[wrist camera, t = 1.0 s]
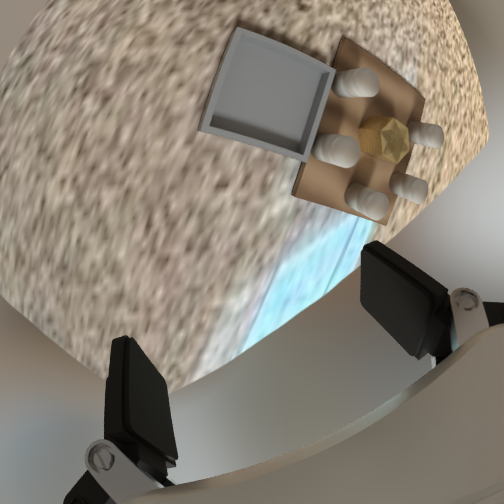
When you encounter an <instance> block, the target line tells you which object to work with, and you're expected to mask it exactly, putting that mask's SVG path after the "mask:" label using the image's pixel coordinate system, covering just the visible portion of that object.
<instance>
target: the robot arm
mask: <svg viewBox="0 0 504 504" xmlns="http://www.w3.org/2000/svg"><path fill="white" fill-rule="evenodd" d="M447 292H448V289H447V288H445V287H444V286H443V285H441V284H440V283H439V282H437V281H436V280H435V279H433V278H432V277H430V276H429V275H427V274H426V273H425V272H423V271H422V270H421V269H419V268H418V267H416V266H415V265H414V264H412V263H411V262H409V261H408V260H406V259H405V258H403V257H402V256H400V255H399V254H397V253H396V252H394V251H393V250H391V249H390V248H388V247H386V246H385V245H384V244H382V243H381V242H379V241H377V240H376V241H373V242H370V243H368V244H366V245H364V247H363V250H362V251H361V290H360V293H361V294H360V301H361V304H362V306H363V307H364V309H366V311H368V313H370V314H371V316H373V318H374V319H376V321H378V323H379V324H380V325H381V326H382V327H383V328H384V329H385V330H386V331H387V332H388V333H389V334H390V335H391V336H392V337H393V338H394V339H395V340H396V341H397V342H398V343H399V344H400V345H401V346H402V347H403V348H404V349H405V350H406V351H407V353H408V354H409V355H411V356H415V357H416V358H417V359H418V360H420V359H421V358H422V357H423V356H425V355H426V354H427V353H428V352H429V354H431V356H432V370H430V371H429V372H428V373H427V374H426V375H424V376H423V377H421V378H420V379H419V380H418V381H416V382H415V383H414V384H412V385H411V386H409V387H408V388H407V389H405V390H404V391H402V392H401V393H399V394H398V395H396V396H395V397H393V398H392V399H390V400H389V401H387V402H386V403H384V404H383V405H381V406H379V407H378V408H376V409H375V410H373V411H371V412H370V413H368V414H366V415H365V416H363V417H361V418H359V419H358V420H356V421H354V422H352V423H351V424H349V425H347V426H345V427H343V428H341V429H340V430H338V431H336V432H333V433H331V434H329V435H327V436H325V437H323V438H322V439H319V440H317V441H315V442H313V443H310V444H308V445H306V446H304V447H301V448H299V449H297V450H294V451H292V452H289V453H287V454H284V455H282V456H279V457H276V458H274V459H271V460H269V461H265V462H263V463H259V464H256V465H254V466H250V467H247V468H244V469H241V470H237V471H233V472H230V473H226V474H223V475H219V476H215V477H211V478H207V479H203V480H198V481H194V482H189V483H184V484H177V483H176V482H174V481H173V480H172V479H170V478H169V477H168V476H167V475H168V473H167V468H173V467H176V462H175V460H177V459H178V453H177V448H176V442H175V437H174V431H173V425H172V419H171V413H170V406H169V398H168V391H167V384H166V382H165V379H164V378H163V377H162V375H161V374H160V373H159V372H158V370H157V369H156V368H155V366H154V365H153V364H152V363H151V361H150V360H149V359H148V357H147V356H146V355H145V353H144V352H143V350H142V349H141V348H140V346H139V345H138V344H137V342H136V341H135V339H134V338H132V337H131V338H129V337H128V336H127V335H125V336H122V337H119V338H115V339H113V340H112V345H111V354H110V364H109V376H108V378H107V380H106V390H105V410H104V411H105V412H104V439H101V440H97V441H94V442H93V443H92V444H90V446H89V447H88V448H87V450H86V453H85V464H86V467H87V468H88V470H87V471H86V472H85V474H84V475H83V476H82V477H81V478H80V479H79V481H78V482H77V483H76V484H75V486H74V487H73V488H72V489H71V491H70V492H69V493H68V494H67V495H66V497H65V499H64V502H63V504H504V303H500V302H482V300H481V298H480V296H479V295H478V294H477V293H476V292H475V291H473V290H471V289H468V288H457V289H455V290H454V291H453V292H452V293H451V295H449V294H447Z"/></svg>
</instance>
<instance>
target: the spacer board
mask: <svg viewBox="0 0 504 504" xmlns="http://www.w3.org/2000/svg"><path fill="white" fill-rule="evenodd" d="M332 68H334V69H336V72H335V75H334V79H333V82H332V85H331V88H330V92H329V95H328V98H327V101H326V104H325V108H324V111H323V114H322V117H321V120H320V123H319V126H318V130H317V133H316V136H315V139H314V142H313V145H312V148H311V151H310V154H309V157H308V160H307V163H305V162H302V164H301V167H300V170H299V173H298V176H297V179H296V182H295V185H294V188H293V191H292V194H291V195H293V196H294V197H297V198H301V199H304V200H307V201H311V202H314V203H318V204H321V205H324V206H327V207H331V208H334V209H337V210H340V211H343V212H347V213H350V214H353V215H356V216H359V217H362V218H365V219H368V220H371V221H374V222H377V223H379V224H382V225H385V226H386V225H387V222H388V220H389V217H390V215H391V212H392V209H393V207H394V204H395V201H396V198H397V196H398V195H399V196H401V197H404V198H406V199H408V200H411V201H413V202H415V203H417V204H421V203H423V202H424V201H425V199H426V197H427V195H428V184H427V182H426V181H425V180H422V179H419V178H416V177H413V176H411V175H408V174H405V172H406V169H407V166H408V163H409V160H410V156H411V153H412V150H413V146H414V143H415V144H420V145H424V146H428V147H432V148H436V149H439V148H440V147H441V146H442V144H443V141H444V133H443V130H442V128H441V127H440V126H439V125H434V124H428V123H422V122H420V120H421V116H422V112H423V108H424V103H425V98H424V97H423V96H422V95H421V94H419V93H418V92H417V91H416V90H415V89H414V88H413V87H412V86H410V85H409V84H408V83H407V82H406V81H404V80H403V79H402V78H401V77H400V76H398V75H397V74H396V73H395V72H393V71H392V70H391V69H390V68H388V67H387V66H386V65H384V64H383V63H382V62H380V61H379V60H378V59H376V58H375V57H373V56H372V55H371V54H369V53H368V52H366V51H365V50H363V49H362V48H360V47H359V46H357V45H356V44H354V43H353V42H351V41H349V40H348V39H346V38H344V39H341V41H340V44H339V48H338V51H337V54H336V57H335V61H334V64H333V67H332ZM370 116H380V117H391V118H395V119H396V120H398V121H399V122H400V123H402V124H403V125H404V126H406V127H407V128H408V136H409V151H408V153H407V154H406V155H405V156H404V157H403V158H402V159H401V161H400V162H399V163H398V164H395V163H391V162H388V161H384V160H380V159H377V158H374V157H372V156H370V155H369V154H367V153H365V152H363V151H361V150H360V141H359V132H358V128H359V127H360V126H361V125H362V124H363V123H364V122H365V121H366V120H367V119H368V118H369V117H370Z"/></svg>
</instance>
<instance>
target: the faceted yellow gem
mask: <svg viewBox="0 0 504 504" xmlns="http://www.w3.org/2000/svg"><path fill="white" fill-rule="evenodd" d="M358 132H359V141H360V150H361V151H363V152H365V153H367V154H369V155H370V156H372V157H374V158H377V159H380V160H384V161H388V162H391V163H395V164H398V163H399V162H400V161H401V159H402V158H403V157H404V156H405V155H406V154H407V153H408V151H409V136H408V128H407V127H406V126H404V125H403V124H402V123H400V122H399V121H398V120H396V119H395V118H391V117H380V116H370V117H369V118H368V119H367V120H366V121H365V122H364V123H363V124H362V125H361V126H360V127H359V128H358Z"/></svg>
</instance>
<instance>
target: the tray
mask: <svg viewBox="0 0 504 504" xmlns="http://www.w3.org/2000/svg"><path fill="white" fill-rule="evenodd" d="M335 72H336V69H334V68H332V67H330V66H328V65H326V64H324V63H323V62H321V61H319V60H317V59H315V58H313V57H311V56H309V55H307V54H305V53H303V52H300V51H298V50H296V49H294V48H292V47H289V46H287V45H285V44H283V43H280V42H278V41H275V40H273V39H270V38H268V37H265V36H263V35H260V34H257V33H255V32H252V31H249V30H246V29H243V28H240V27H237V28H236V29H235V30H234V31H233V33H232V34H231V36H230V39H229V41H228V44H227V46H226V49H225V51H224V54H223V57H222V59H221V62H220V65H219V67H218V70H217V73H216V76H215V78H214V81H213V84H212V87H211V90H210V93H209V96H208V99H207V102H206V105H205V108H204V111H203V114H202V118H201V121H200V124H199V127H198V131H200V132H204V133H208V134H212V135H216V136H220V137H224V138H228V139H231V140H235V141H239V142H242V143H246V144H249V145H252V146H256V147H259V148H262V149H265V150H269V151H272V152H275V153H278V154H281V155H284V156H287V157H290V158H293V159H296V160H299V161H302V162H305V163H307V160H308V157H309V154H310V151H311V148H312V145H313V142H314V139H315V136H316V133H317V130H318V126H319V123H320V120H321V117H322V114H323V111H324V108H325V104H326V101H327V98H328V95H329V92H330V88H331V85H332V82H333V79H334V75H335Z"/></svg>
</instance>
